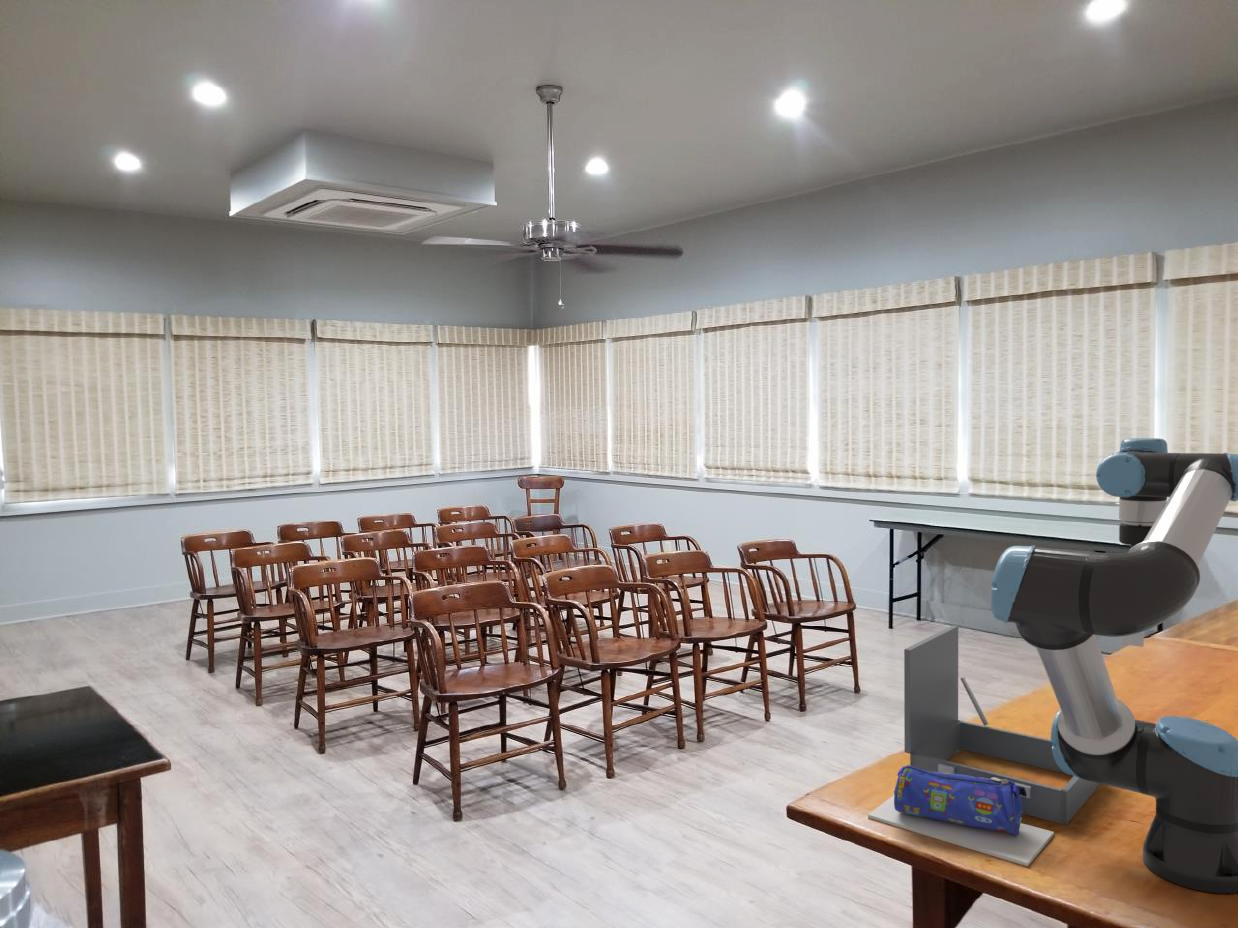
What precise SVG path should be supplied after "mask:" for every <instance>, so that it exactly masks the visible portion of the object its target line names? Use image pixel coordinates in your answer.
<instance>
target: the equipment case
mask: <svg viewBox="0 0 1238 928" xmlns="http://www.w3.org/2000/svg"><path fill="white" fill-rule="evenodd" d="M903 655H904V658H903V660H904V661H903V662H904V665H903V666H904V668H903V669H904V674H903V677H904V679H903V680H904V681H903V682H904V683H903V684H904V687H903V688H904V691H903V692H904V693H903V694H904V696H903V697H904V698H903V699H904V701H903V702H904V705H903V706H904V710H903V711H904V719H903V720H904V728H903V729H904V753H906V754H910V755H909V758H910V759H909V762H910V764H909V765H911V766H914V767H917V768H919V769H922V770H927V771H930V772H941V773H950V774H962V775H968V776H973V777H976V778H978V777H982V778H987V779H990V778H993V777H995V778H998V779H1001V780H1002V779H1007V780H1008V781H1012V782H1014V783H1015V784H1016V785H1017V786H1020V787H1024V788H1025V790H1026V794H1027V796H1026V797H1025V796H1022V795H1020V798H1021V803H1022V815H1023V814H1024V815H1027V816H1032V817H1036V818H1040V819H1041V820H1046V821H1049V822H1053V823H1058V824H1061V825H1065V826H1066V825H1068V824H1069V822H1070V821H1071V820H1072V818H1074V816H1075V815H1076V814H1077V813H1078V812H1079V810H1080V809H1081V808H1082V806H1083V805H1085V803H1086V801H1087V800H1088V799H1089V798H1090V797H1091V795H1093V793H1094V792H1095V791H1096V790H1097V788H1098V787H1099V786H1100V785H1101V783H1097V782H1093V781H1086V780H1083V779H1080V778H1078V777H1076V776H1073V775H1072V777H1071V779H1069V781H1068V782H1067V783H1066V784H1065V785H1064V786H1063V787H1062V788H1060V787H1056V786H1051V785H1048V784H1044V783H1040V782H1035V781H1031V780H1027V779H1023V778H1019V777H1016V776H1015V777H1014V776H1011V775H1007V774H1002V773H999V772H995V771H990V770H987V769H982V768H978V767H975V766H969V765H966V764H962V763H957V762H954V761H950V760H949V759H950V758H951V757H953V756H954V755H955V754H957V753H958V752H959V751H961V750H963V751H967V752H971V753H972V752H973V753H976V754H980V755H985V756H988V757H993V758H998V759H1000V760H1001V759H1002V760H1005V761H1009V762H1016V763H1019V764H1023V765H1027V766H1032V767H1036V768H1039V767H1041V768H1040V769H1044V768H1045V770H1048V769H1049V770H1048V771H1052V772H1057V773H1060V774H1061V773H1062V774H1065V775H1070V774H1067V773H1065V772H1064V771H1063V770H1061V768H1060V767H1059V766H1058V765H1057V763H1056V761H1055V759H1054V756H1053V753H1052V746H1053V743H1052V742H1051V739H1050V738H1043V737H1038V736H1035V735H1030V734H1026V733H1020V732H1015V731H1011V730H1005V729H1000V728H996V727H992V726H989V722H988V720H987V718H986V715H985V714H984V712H983V710H982V709H981V707H980V705H979V702H978V701H977V698H976V697H975V695H974V693H973V691H972V689H971V687H970V684H969V683H968V681H967V678H966V677H965V676H961V677H960V681H961V683H962V685H963V687H964V689H965V691H966V693H967V695H968V697H969V699H970V701H971V703H972V705H973V708H975V710H976V713H977V715H978V717H979V719H980V720H981V723H982V724H983V725H982V724H978V723H975V722H974V723H973V722H969V721H965V720H961V719H960V720H959V626H958V625H951V626H949V627H947V628H945V629H943V630H940V631H938V632H936V633H935V634H932V635H930V636H928V637H926V638H924V639H923V640H920V641H918V642H917V643H916V642H915V643H914V644H912V645H909V646H908V647H906V648H904V654H903ZM1070 776H1071V775H1070Z"/></svg>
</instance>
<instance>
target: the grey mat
mask: <svg viewBox="0 0 1238 928" xmlns="http://www.w3.org/2000/svg"><path fill="white" fill-rule="evenodd" d="M867 818H868V819H871V820H874V821H878V822H881V823H885V824H888V825H890V826H894V827H897V828H900V829H903V830H907V831H910V832H914V833H916V834H919V835H922V836H927V837H929V838H933V839H937V840H938V841H939V840H940V841H943V842H946V843H948V844H949V843H950V844H952V845H955V846H959V847H962V848H965V849H969V850H972V851H975V852H979V853H982V854H986V855H988V856H991V857H996V858H998V859H1001V860H1005V861H1008V862H1011V863H1014V864H1018V865H1021V866H1024V867H1029V866H1030V865H1031V864H1032V863H1033V861H1034V859H1036V858H1037V857H1038V855H1039V854H1040V852H1042V850H1043V849H1044V848H1045V846H1047V844H1048V843H1049V842H1050V841H1051V839H1052V838H1053V837H1054V836H1055V832H1054V831H1051V830H1048V829H1044V828H1041V827H1037V826H1033V825H1030V824H1026V823H1022V822H1021V824H1020V828H1019V835H1017V836H1014V835H1012V834H1009V833H1005V832H1000V831H994V830H989V829H983V828H977V827H972V826H965V825H960V824H956V823H949V822H944V821H940V820H936V819H932V818H927V817H921V816H917V815H910V814H906V813H901V812H898V811H896V810H895V807H894V794H893V795H892V796H891V797H889V798H888V799H887V800H885V801H884V802H882V803H881V804H880V805H879V806H878V807H876V808H875V809H873V810H872V811H871V812H870V813H868V814H867Z"/></svg>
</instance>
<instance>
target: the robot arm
mask: <svg viewBox="0 0 1238 928" xmlns="http://www.w3.org/2000/svg"><path fill="white" fill-rule="evenodd" d="M1119 449H1120V450H1119V451H1118V452H1115V453H1111V455H1109V456H1106V457H1105V458H1104V459H1102V460H1101V462H1100V463H1099V464H1098V466H1097V468H1096V473H1095V477H1096V482H1097V484H1098V486H1099V488H1100V489H1101V490H1102V491H1103V492H1104V493H1106V494H1108V495H1110V496H1111V497H1115V498H1119V499H1118V501H1119V502H1118V503H1119V504H1118V506H1119V508H1118V519H1119V520H1120V521H1122V522H1121V523H1120V524H1119V525H1118V526H1119V528H1118V535H1119V536H1118V540H1119V542H1120V544H1123V545H1126V546H1131V548H1130V549H1129V550H1128V551H1127V552H1121V553H1114V552H1113V553H1111V552H1096V551H1088V550H1075V549H1074V550H1073V549H1063V548H1050V547H1049V548H1048V547H1040V546H1036V545H1035V544H1032V545H1013V546H1009V547H1008V548H1006V549H1005V550H1004V551H1003V552H1002V553H1001V555H1000V557H999V558H998V560H997V563H996V566H995V568H994V571H993V576H992V581H991V586H990V587H991V588H990V607H991V608H990V609H991V613H992V614H993V617H994V618H995V619H996V620H998V621H1000V622H1003V623H1005V624H1008V623H1013V624H1015V626H1016V629H1017V631H1018V633H1019V635H1020V637H1021V638H1022V639H1023V640H1024V642H1026V643H1027V644H1029V645H1030V646H1031V647H1034V648H1036V650H1037V653H1038V656H1039V659H1040V660H1041V663H1042V665H1043V668H1044V670H1045V673H1046V676H1047V678H1048V681H1049V683H1050V686H1051V688H1052V690H1053V693H1054V696H1055V699H1056V701H1057V703H1058V705H1059V710H1058V711H1057V712H1056V714H1055V716H1054V718H1053V721H1052V723H1051V724H1052V725H1051V729H1050V740H1051V742H1052V743H1053V746H1052V753H1053V756H1054V759H1055V761H1056V763H1057V765H1058V766H1059V767H1060V768H1061V770H1063V771H1064V772H1065V773H1067V774H1066V775H1069V774H1070V776H1072V777H1073V776H1076V777H1078V778H1080V779H1083V780H1086V781H1093V782H1097V783H1100V785H1106V786H1110V787H1114V788H1118V789H1123V790H1126V791H1130V792H1133V793H1134V792H1135V793H1138V794H1142V795H1146V796H1149V797H1154V798H1155V815H1154V817H1153V819H1152V822H1151V824H1150V827H1149V829H1148V831H1147V834H1146V836H1145V839H1144V841H1143V845H1142V860H1143V861H1142V862H1143V863H1144V865H1145V866H1146V867H1147V868H1148V869H1149V870H1150V871H1151V872H1153V873H1154V874H1155V875H1158V876H1159V877H1160V878H1163V879H1164V880H1167V881H1168V882H1170V883H1173V884H1176V885H1177V886H1178V885H1179V886H1182V887H1184V888H1189V889H1192V890H1197V891H1201V892H1206V893H1212V894H1214V893H1215V894H1223V895H1225V894H1226V893H1230V894H1238V893H1237V892H1238V739H1237V738H1236V737H1235V736H1234V735H1233V734H1231V733H1229V732H1228V731H1227V730H1226V729H1223V728H1221V727H1219V726H1216V725H1214V724H1212V723H1210V722H1206V721H1203V720H1199V719H1197V718H1196V719H1195V718H1190V717H1186V716H1181V717H1180V716H1176V715H1166V716H1162V717H1160V718H1159V719H1158V720H1157V721H1156V723H1153V722H1150V721H1144V720H1139V719H1136V718H1135V717H1134V715H1133V714H1134V713H1132V710H1131V708H1129V706H1127V704H1125V703H1124V702H1123V701H1121V700H1120V699H1119V698H1117V696H1116V695H1117V694H1116V692H1115V689H1114V686H1113V683H1112V680H1111V677H1110V675H1109V670H1108V669H1107V665H1106V663H1105V660H1104V657H1103V654H1102V651H1101V648H1100V645H1099V642H1098V640H1097V639H1098V638H1097V636H1102V637H1109V638H1110V637H1115V638H1116V637H1125V645H1126V646H1134V647H1140V648H1143V647H1145V645H1144V641H1145V640H1144V639H1145V638H1144V637H1145V636H1144V633H1145V631H1154V632H1157V629H1158V626H1159V625H1160V624H1163V623H1165V622H1166V621H1167V620H1169V619H1170V618H1172V617H1174V616H1175V615H1176V614H1178V613H1179V612H1180V611H1182V610H1183V609H1184V607H1185V606H1187V604H1188V603H1189V602H1190V601H1191V600H1192V599H1193V596H1194V595H1195V593H1196V591H1197V588H1198V587H1199V584H1200V581H1201V571H1200V568H1199V565H1200V562H1201V561H1202V558H1203V557H1204V555H1205V552H1206V550H1207V548H1208V546H1209V544H1210V542H1211V540H1212V538H1213V536H1214V534H1215V532H1216V529H1217V528H1218V525H1219V523H1220V521H1221V519H1222V517H1223V515H1224V513H1225V511H1226V508H1227V507H1228V504H1229V503H1230V501H1231V502H1237V501H1238V454H1237V453H1228V452H1222V453H1220V452H1218V453H1216V452H1215V453H1214V452H1213V453H1210V452H1209V453H1205V452H1204V453H1202V452H1200V453H1198V452H1192V453H1190V452H1187V453H1186V452H1168V442H1167V441H1166V440H1165V439H1163V438H1157V437H1156V438H1154V437H1134V438H1131V437H1130V438H1124V439H1122V440H1121V441H1120V447H1119ZM1065 773H1064V774H1065Z"/></svg>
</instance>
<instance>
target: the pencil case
mask: <svg viewBox="0 0 1238 928" xmlns="http://www.w3.org/2000/svg"><path fill="white" fill-rule="evenodd" d="M893 795H894V807H895V810H896V811H898V812H901V813H906V814H910V815H917V816H921V817H927V818H932V819H936V820H940V821H944V822H949V823H956V824H960V825H965V826H972V827H977V828H983V829H989V830H994V831H1000V832H1005V833H1009V834H1012V835H1014V836H1017V835H1019V828H1020V824H1021V823H1022V820H1023V813H1022V803H1021V798H1020V795H1022V796H1025V797H1026V796H1027V794H1026V790H1025V788H1024V787H1020V786H1017V785H1016V784H1015V783H1014V782H1012V781H1008V780H1007V779H1002V780H1001V779H998V778H995V777H993V778H990V779H987V778H982V777H978V778H976V777H973V776H968V775H962V774H950V773H941V772H930V771H927V770H922V769H919V768H917V767H914V766H911V765H910V764H906V765H904V766H902V767H901V768H900V769H899V771H898V772H897V780H896V783H895V787H894V790H893Z"/></svg>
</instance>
